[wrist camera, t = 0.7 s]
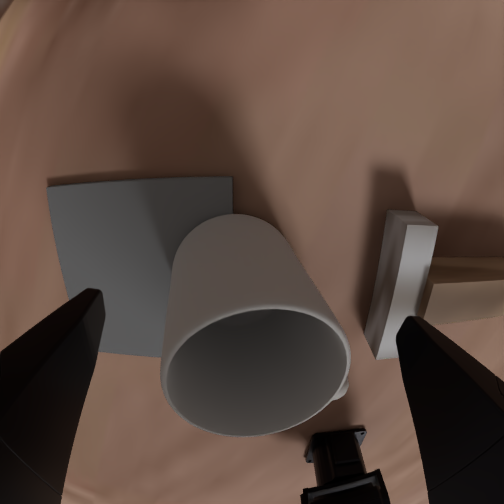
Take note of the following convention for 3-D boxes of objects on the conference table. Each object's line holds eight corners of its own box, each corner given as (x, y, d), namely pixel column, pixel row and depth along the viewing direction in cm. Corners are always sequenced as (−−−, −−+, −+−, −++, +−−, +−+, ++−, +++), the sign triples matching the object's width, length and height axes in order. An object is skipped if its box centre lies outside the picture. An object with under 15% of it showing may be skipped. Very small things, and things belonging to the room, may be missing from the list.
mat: (235, 355, 27) (235, 360, 26) (87, 345, 27) (84, 349, 26) (232, 176, 21) (232, 177, 20) (50, 185, 21) (46, 187, 20)
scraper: (485, 320, 26) (507, 345, 22) (363, 333, 26) (379, 368, 22) (515, 219, 22) (546, 236, 18) (386, 209, 22) (414, 230, 18)
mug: (150, 284, 22) (125, 402, 12) (220, 187, 20) (239, 257, 10) (277, 353, 27) (313, 461, 17) (345, 279, 25) (420, 372, 15)
